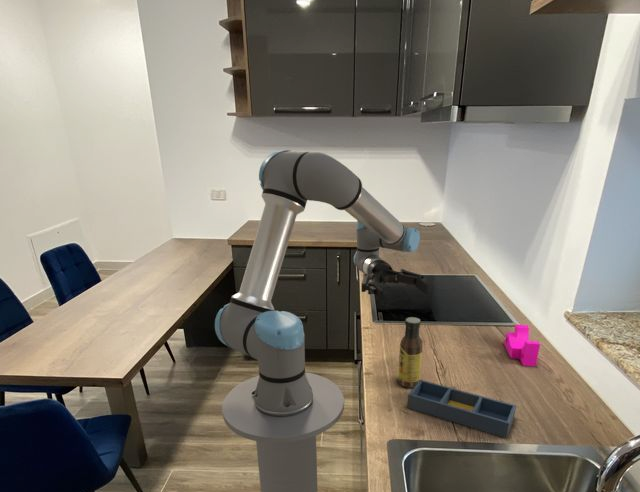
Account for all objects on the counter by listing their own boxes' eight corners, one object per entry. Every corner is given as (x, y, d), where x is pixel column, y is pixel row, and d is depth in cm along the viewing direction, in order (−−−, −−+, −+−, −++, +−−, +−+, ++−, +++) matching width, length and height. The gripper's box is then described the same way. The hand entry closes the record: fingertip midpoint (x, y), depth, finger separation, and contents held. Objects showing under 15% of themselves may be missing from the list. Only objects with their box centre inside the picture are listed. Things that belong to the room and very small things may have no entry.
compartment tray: (407, 407, 116) (408, 394, 114) (419, 392, 123) (420, 379, 121) (506, 438, 104) (509, 423, 102) (513, 419, 111) (516, 405, 109)
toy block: (504, 344, 151) (507, 324, 148) (523, 345, 150) (527, 325, 147) (514, 365, 137) (518, 343, 134) (535, 366, 136) (540, 344, 133)
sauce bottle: (399, 376, 131) (403, 313, 123) (420, 379, 129) (426, 315, 121) (396, 387, 125) (400, 322, 117) (418, 390, 123) (423, 324, 115)
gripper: (412, 277, 148) (443, 299, 129) (341, 286, 142) (362, 310, 123) (413, 255, 145) (445, 274, 126) (340, 263, 139) (362, 284, 120)
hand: (404, 292), depth 125 cm, fingers open, 13 cm apart
